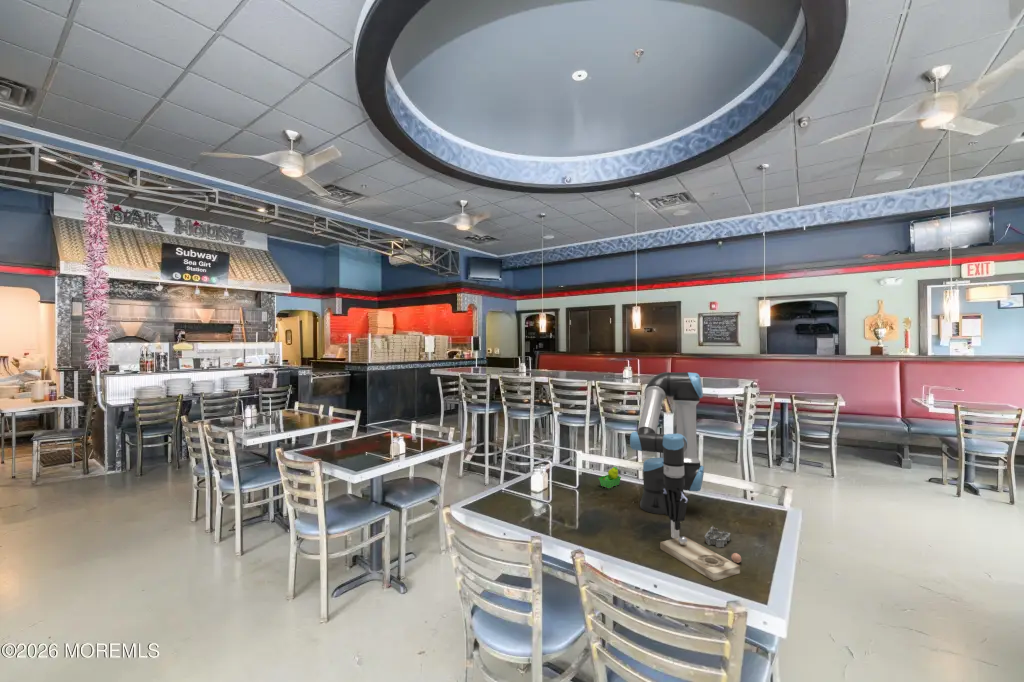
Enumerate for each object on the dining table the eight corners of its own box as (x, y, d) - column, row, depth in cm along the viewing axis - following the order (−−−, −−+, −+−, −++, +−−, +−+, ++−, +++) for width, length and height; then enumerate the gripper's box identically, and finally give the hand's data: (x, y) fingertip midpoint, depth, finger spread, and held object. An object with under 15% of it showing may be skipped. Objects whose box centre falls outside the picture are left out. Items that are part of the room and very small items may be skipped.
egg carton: (712, 534, 176) (712, 524, 176) (732, 540, 171) (732, 530, 171) (702, 543, 169) (702, 532, 169) (722, 549, 163) (722, 538, 163)
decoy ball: (735, 559, 155) (735, 550, 155) (743, 563, 152) (743, 554, 152) (729, 561, 154) (729, 552, 154) (737, 565, 151) (736, 556, 151)
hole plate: (684, 542, 169) (684, 536, 169) (740, 573, 146) (739, 565, 146) (660, 548, 164) (660, 542, 164) (713, 581, 141) (713, 573, 141)
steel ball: (683, 542, 164) (682, 534, 164) (689, 546, 161) (689, 537, 161) (676, 544, 162) (676, 535, 162) (682, 547, 159) (682, 539, 160)
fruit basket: (610, 482, 244) (610, 462, 244) (623, 486, 237) (623, 465, 237) (598, 487, 236) (597, 466, 236) (611, 491, 230) (610, 470, 230)
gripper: (654, 472, 170) (655, 532, 169) (678, 481, 158) (680, 546, 157) (669, 469, 173) (670, 528, 172) (694, 478, 161) (695, 542, 160)
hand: (675, 537), depth 165 cm, fingers closed
